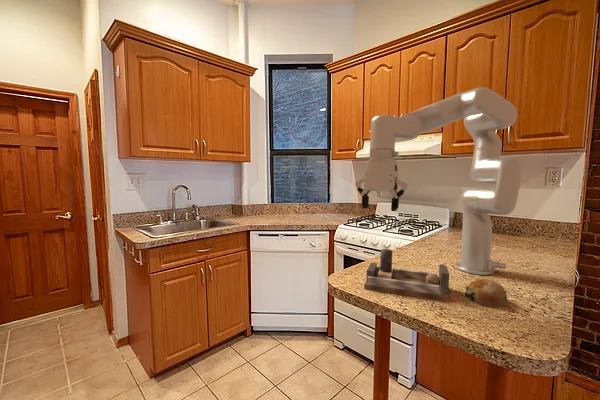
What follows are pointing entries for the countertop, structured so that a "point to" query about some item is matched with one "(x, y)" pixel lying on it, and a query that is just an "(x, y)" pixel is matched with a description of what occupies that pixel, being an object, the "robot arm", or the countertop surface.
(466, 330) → the countertop surface
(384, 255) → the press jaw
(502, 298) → the bread roll
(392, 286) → the base
